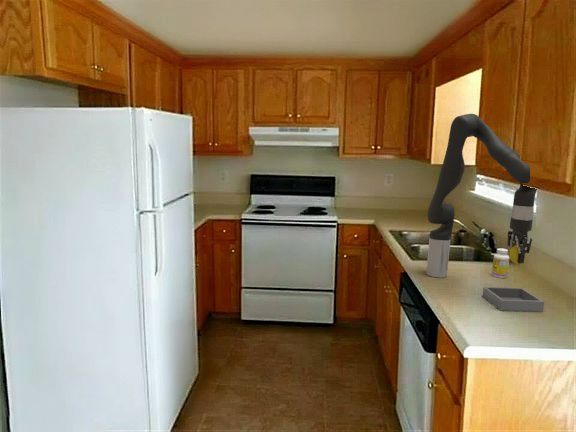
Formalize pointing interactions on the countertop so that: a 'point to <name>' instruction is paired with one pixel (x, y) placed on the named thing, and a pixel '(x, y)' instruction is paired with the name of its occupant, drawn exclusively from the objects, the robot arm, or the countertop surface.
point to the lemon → (514, 254)
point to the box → (513, 299)
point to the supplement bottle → (500, 263)
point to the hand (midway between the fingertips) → (516, 260)
